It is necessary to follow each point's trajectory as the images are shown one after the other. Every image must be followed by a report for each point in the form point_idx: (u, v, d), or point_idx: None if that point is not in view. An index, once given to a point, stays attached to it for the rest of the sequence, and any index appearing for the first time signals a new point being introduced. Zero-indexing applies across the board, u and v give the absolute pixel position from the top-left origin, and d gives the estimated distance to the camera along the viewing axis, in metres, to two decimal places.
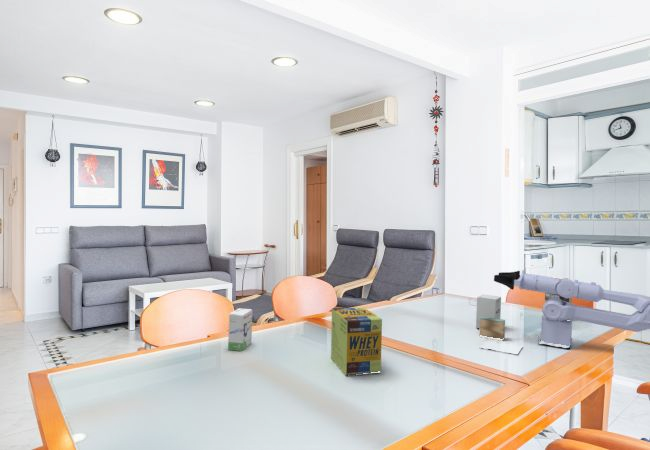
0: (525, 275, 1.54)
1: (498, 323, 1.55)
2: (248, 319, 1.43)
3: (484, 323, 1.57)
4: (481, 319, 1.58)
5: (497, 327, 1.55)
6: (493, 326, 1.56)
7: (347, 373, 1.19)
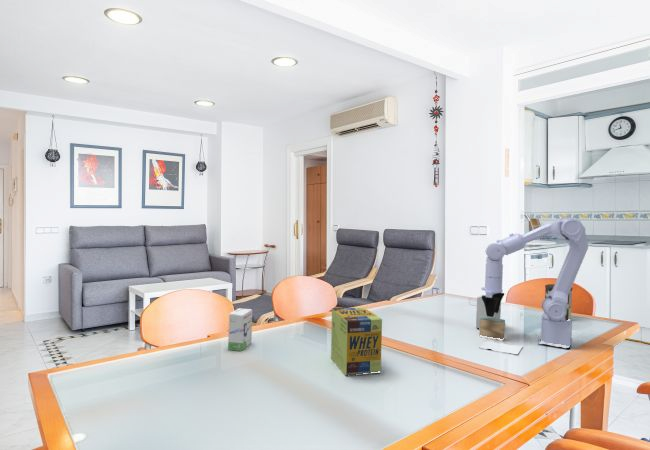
0: (485, 287, 1.57)
1: (498, 323, 1.55)
2: (248, 319, 1.43)
3: (484, 323, 1.57)
4: (481, 319, 1.58)
5: (497, 327, 1.55)
6: (493, 326, 1.56)
7: (347, 373, 1.19)
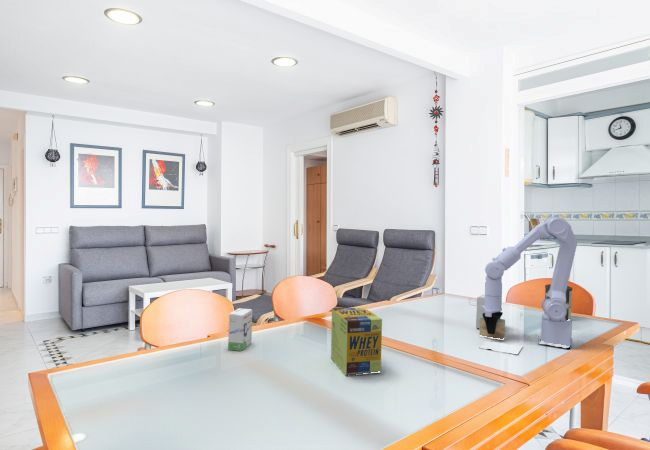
0: (485, 305, 1.57)
1: (498, 323, 1.55)
2: (248, 319, 1.43)
3: (484, 323, 1.57)
4: (481, 319, 1.58)
5: (497, 327, 1.55)
6: None
7: (347, 373, 1.19)
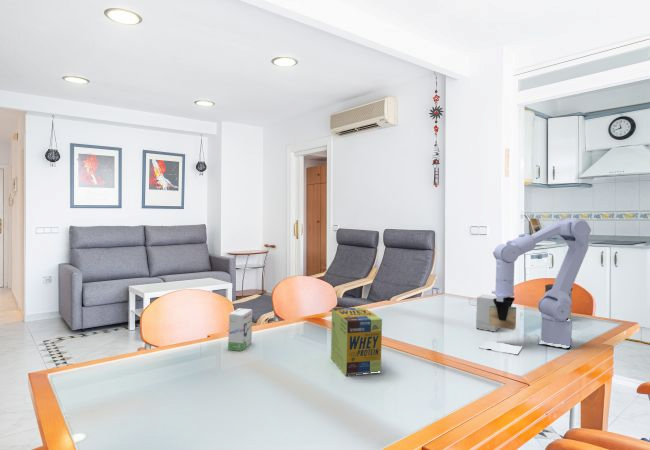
0: (496, 290, 1.49)
1: (509, 311, 1.47)
2: (248, 319, 1.43)
3: (494, 311, 1.49)
4: (491, 307, 1.50)
5: (508, 315, 1.47)
6: None
7: (347, 373, 1.19)
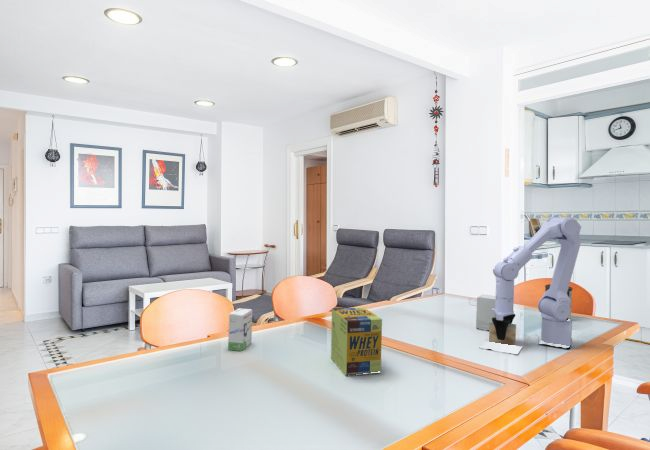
0: (496, 308, 1.49)
1: (509, 328, 1.47)
2: (248, 319, 1.43)
3: (494, 328, 1.49)
4: (491, 324, 1.50)
5: (508, 332, 1.47)
6: None
7: (347, 373, 1.19)
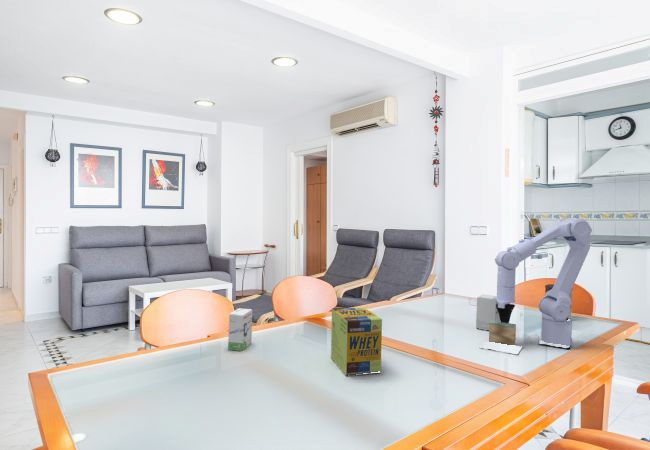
0: (497, 296, 1.50)
1: (508, 328, 1.46)
2: (248, 319, 1.43)
3: (494, 328, 1.49)
4: (490, 324, 1.49)
5: (507, 332, 1.47)
6: (503, 331, 1.47)
7: (347, 373, 1.19)
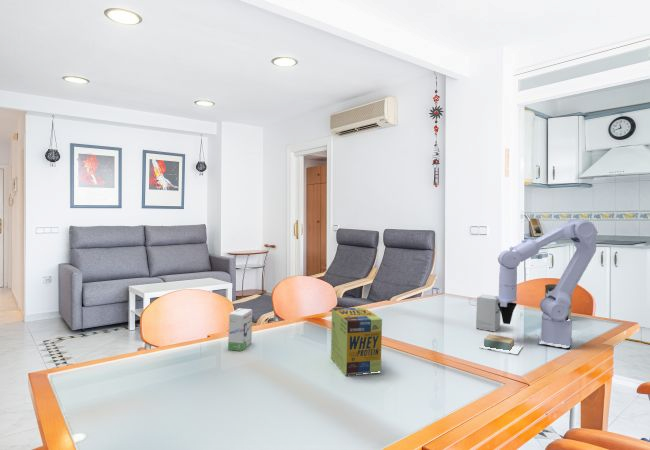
0: (499, 295, 1.53)
1: None
2: (248, 319, 1.43)
3: None
4: None
5: None
6: None
7: (347, 373, 1.19)
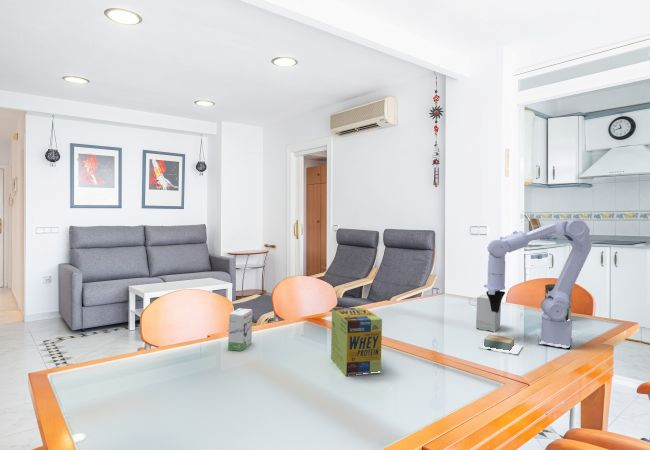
0: (488, 284, 1.55)
1: None
2: (248, 319, 1.43)
3: None
4: None
5: None
6: None
7: (347, 373, 1.19)
